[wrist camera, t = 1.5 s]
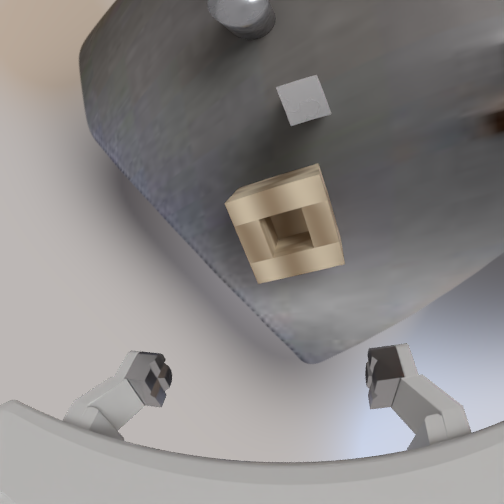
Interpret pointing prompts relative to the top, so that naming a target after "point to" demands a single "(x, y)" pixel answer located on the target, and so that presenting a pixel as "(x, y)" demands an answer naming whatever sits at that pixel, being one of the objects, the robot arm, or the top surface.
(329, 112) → the square bit
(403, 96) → the top surface
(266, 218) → the socket block
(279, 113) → the top surface
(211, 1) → the round bit
